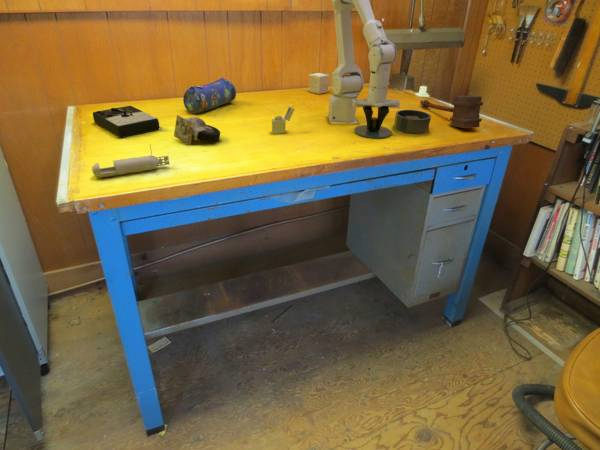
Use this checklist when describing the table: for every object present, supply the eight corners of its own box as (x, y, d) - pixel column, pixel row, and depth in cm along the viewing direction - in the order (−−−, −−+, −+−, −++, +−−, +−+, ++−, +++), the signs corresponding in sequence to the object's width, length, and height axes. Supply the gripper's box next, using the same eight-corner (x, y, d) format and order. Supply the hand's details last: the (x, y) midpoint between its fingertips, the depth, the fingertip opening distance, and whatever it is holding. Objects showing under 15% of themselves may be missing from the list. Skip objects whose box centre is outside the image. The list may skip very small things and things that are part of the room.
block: (406, 131, 139) (408, 119, 137) (403, 127, 142) (405, 115, 140) (418, 131, 139) (420, 119, 137) (414, 127, 142) (416, 115, 140)
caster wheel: (223, 147, 128) (200, 152, 120) (195, 132, 132) (172, 136, 124) (227, 126, 125) (204, 130, 117) (199, 112, 129) (175, 114, 121)
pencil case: (200, 116, 146) (197, 88, 141) (181, 112, 149) (178, 85, 144) (238, 103, 162) (237, 77, 158) (220, 99, 166) (219, 74, 161)
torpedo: (95, 182, 99) (88, 156, 96) (93, 174, 103) (87, 149, 99) (171, 169, 107) (168, 145, 103) (167, 163, 110) (164, 139, 107)
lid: (357, 140, 130) (359, 124, 128) (351, 127, 141) (352, 112, 138) (395, 140, 131) (397, 124, 129) (386, 128, 141) (388, 113, 139)
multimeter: (132, 115, 144) (130, 101, 142) (160, 129, 133) (158, 114, 130) (93, 123, 136) (90, 107, 134) (120, 138, 125) (116, 122, 122)
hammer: (464, 128, 139) (467, 97, 136) (412, 119, 169) (414, 93, 165) (481, 127, 141) (485, 96, 137) (427, 118, 170) (429, 92, 167)
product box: (328, 92, 182) (329, 74, 178) (319, 94, 178) (320, 76, 175) (317, 89, 186) (318, 72, 182) (308, 91, 182) (309, 74, 178)
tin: (398, 135, 136) (401, 119, 133) (390, 125, 145) (392, 109, 142) (432, 136, 136) (435, 119, 134) (421, 125, 146) (424, 109, 143)
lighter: (273, 134, 133) (273, 109, 129) (271, 132, 134) (271, 107, 130) (294, 132, 135) (294, 107, 131) (292, 130, 137) (292, 105, 132)
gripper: (357, 89, 124) (352, 133, 131) (405, 90, 125) (398, 134, 132) (353, 83, 130) (349, 126, 137) (399, 84, 131) (392, 126, 138)
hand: (373, 129), depth 135 cm, fingers closed on lid, 2 cm apart
